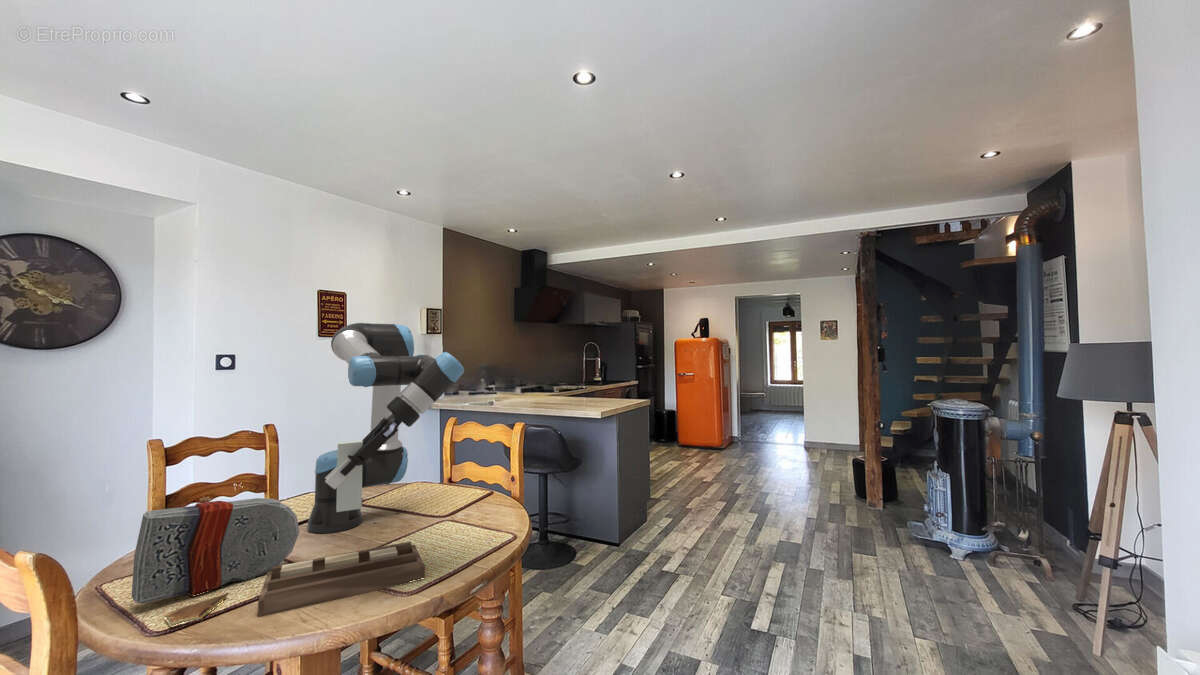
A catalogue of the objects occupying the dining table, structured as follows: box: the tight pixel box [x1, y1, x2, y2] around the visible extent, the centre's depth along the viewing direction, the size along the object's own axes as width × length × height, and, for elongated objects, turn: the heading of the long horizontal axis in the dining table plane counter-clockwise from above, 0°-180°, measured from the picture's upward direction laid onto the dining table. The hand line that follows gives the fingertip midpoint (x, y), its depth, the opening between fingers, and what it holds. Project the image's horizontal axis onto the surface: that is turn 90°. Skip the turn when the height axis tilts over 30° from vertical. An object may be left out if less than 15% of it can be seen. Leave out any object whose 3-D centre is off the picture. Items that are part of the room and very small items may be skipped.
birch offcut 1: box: [280, 559, 313, 578], centre depth 107 cm, size 4×6×5 cm, turn 119°
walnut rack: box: [257, 541, 426, 617], centre depth 110 cm, size 16×32×4 cm, turn 120°
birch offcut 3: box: [369, 547, 397, 561], centre depth 116 cm, size 4×6×4 cm, turn 120°
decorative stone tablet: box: [130, 497, 300, 605], centre depth 110 cm, size 19×6×30 cm
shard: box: [163, 592, 230, 626], centre depth 97 cm, size 11×8×2 cm
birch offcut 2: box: [325, 551, 359, 570], centre depth 112 cm, size 4×7×5 cm, turn 120°
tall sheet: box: [336, 439, 363, 512], centre depth 108 cm, size 3×5×15 cm, turn 120°
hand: (330, 483), depth 106 cm, fingers closed on tall sheet, 3 cm apart
